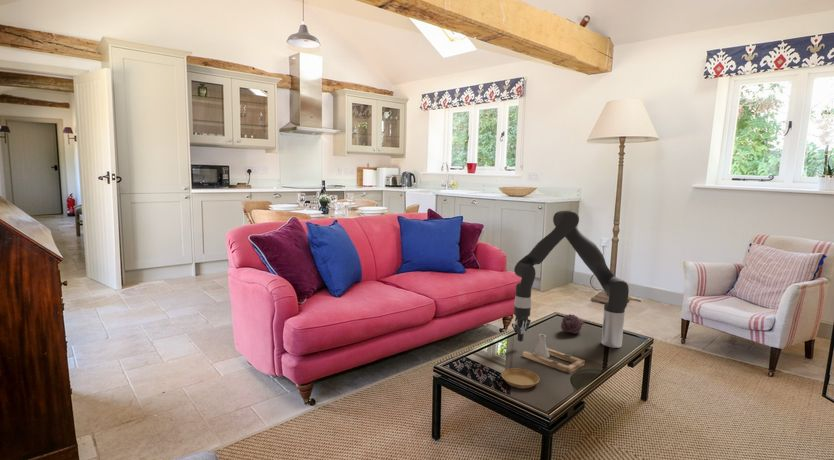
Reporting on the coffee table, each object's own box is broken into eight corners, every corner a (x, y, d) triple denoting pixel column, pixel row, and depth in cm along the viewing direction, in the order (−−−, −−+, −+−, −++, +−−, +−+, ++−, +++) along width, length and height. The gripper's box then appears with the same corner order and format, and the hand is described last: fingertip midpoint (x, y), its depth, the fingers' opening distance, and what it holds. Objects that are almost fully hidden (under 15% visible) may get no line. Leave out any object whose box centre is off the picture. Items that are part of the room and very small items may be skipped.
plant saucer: (546, 383, 177) (546, 376, 177) (526, 395, 167) (526, 388, 166) (514, 370, 187) (514, 365, 187) (493, 381, 177) (494, 375, 177)
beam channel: (538, 349, 211) (538, 344, 211) (584, 364, 194) (584, 359, 194) (522, 356, 202) (522, 351, 202) (569, 373, 185) (570, 368, 185)
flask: (540, 360, 198) (541, 339, 196) (529, 354, 204) (530, 333, 203) (552, 358, 201) (554, 336, 200) (541, 352, 207) (542, 331, 206)
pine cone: (569, 339, 224) (570, 320, 223) (552, 333, 232) (553, 315, 231) (588, 332, 235) (589, 314, 234) (571, 327, 243) (573, 309, 242)
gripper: (523, 301, 215) (521, 335, 217) (507, 305, 206) (505, 341, 208) (537, 304, 210) (534, 340, 212) (521, 309, 201) (519, 346, 203)
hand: (520, 340), depth 210 cm, fingers closed
